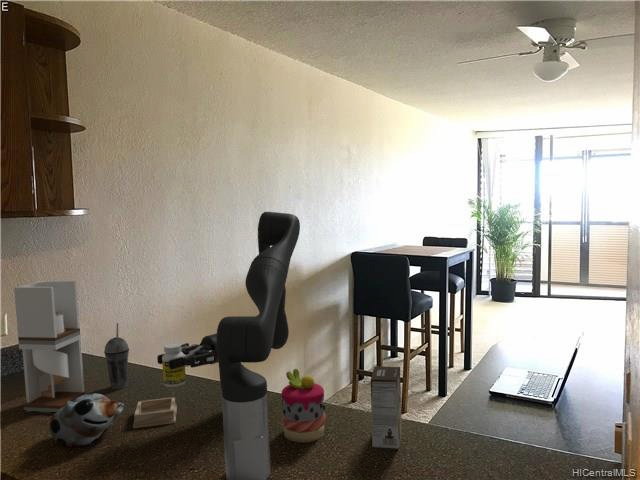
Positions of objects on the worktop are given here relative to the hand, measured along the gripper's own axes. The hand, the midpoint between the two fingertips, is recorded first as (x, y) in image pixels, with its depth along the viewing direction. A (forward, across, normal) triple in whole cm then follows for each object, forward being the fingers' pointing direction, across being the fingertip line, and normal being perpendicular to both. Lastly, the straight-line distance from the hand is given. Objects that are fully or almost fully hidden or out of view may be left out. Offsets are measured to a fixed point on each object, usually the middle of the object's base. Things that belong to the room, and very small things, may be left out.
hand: (163, 362), depth 126 cm
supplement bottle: (-3, 0, +6) cm, 7 cm away
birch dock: (-2, -11, +18) cm, 21 cm away
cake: (-23, +25, +18) cm, 39 cm away
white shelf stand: (+15, -41, +18) cm, 47 cm away
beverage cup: (-4, -41, +18) cm, 45 cm away
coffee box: (-34, +42, +18) cm, 57 cm away
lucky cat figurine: (+15, -12, +18) cm, 26 cm away
